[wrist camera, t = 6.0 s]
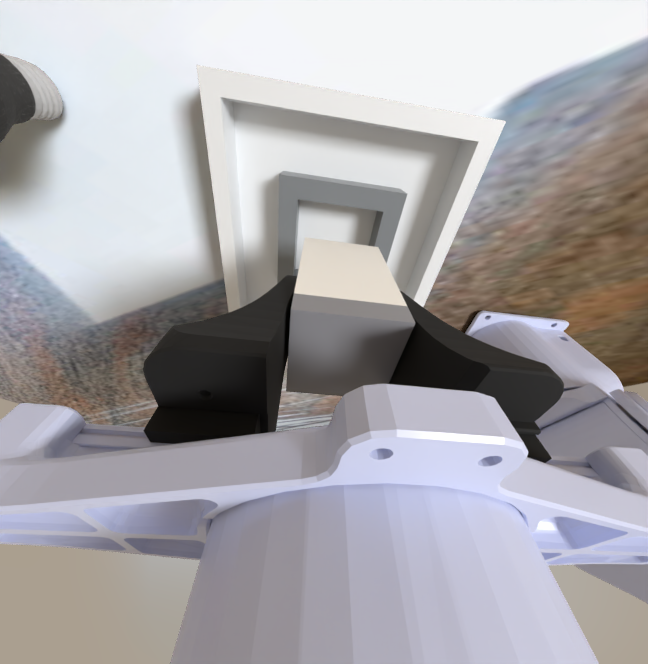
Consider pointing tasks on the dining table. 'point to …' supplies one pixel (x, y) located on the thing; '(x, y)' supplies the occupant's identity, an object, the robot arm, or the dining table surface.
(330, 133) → the inlet box
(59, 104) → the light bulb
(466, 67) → the dining table surface
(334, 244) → the connector plug
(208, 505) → the robot arm
